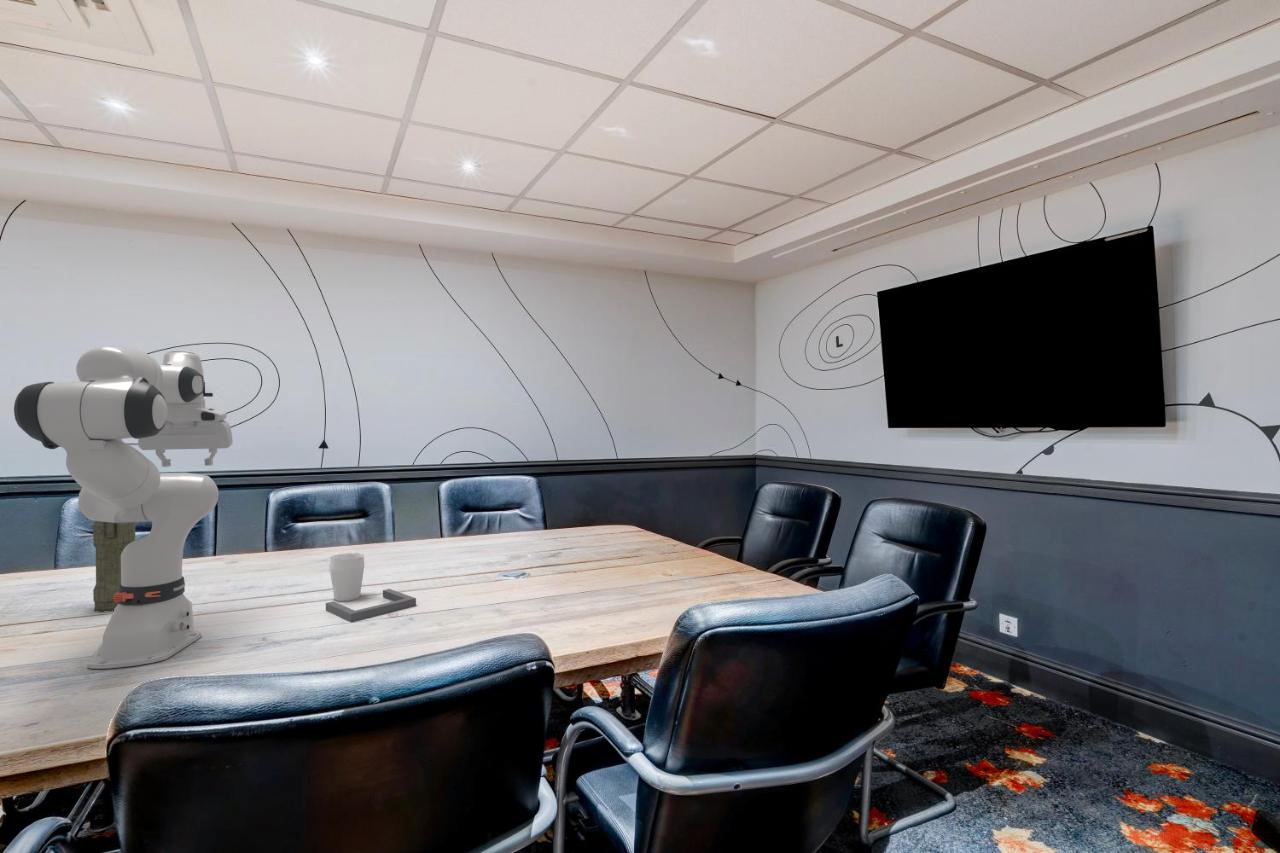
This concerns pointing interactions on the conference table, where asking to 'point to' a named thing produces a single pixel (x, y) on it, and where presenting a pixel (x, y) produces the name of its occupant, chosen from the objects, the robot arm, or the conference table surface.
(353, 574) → the cup
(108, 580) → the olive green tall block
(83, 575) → the conference table surface
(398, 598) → the bay
